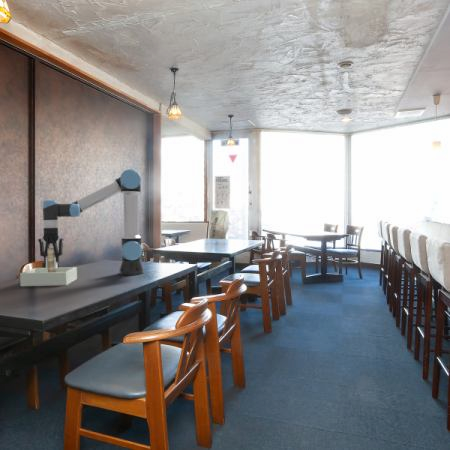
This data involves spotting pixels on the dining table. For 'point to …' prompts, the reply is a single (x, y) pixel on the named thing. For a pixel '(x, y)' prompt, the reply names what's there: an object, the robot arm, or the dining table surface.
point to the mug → (45, 265)
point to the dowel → (51, 260)
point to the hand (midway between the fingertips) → (51, 268)
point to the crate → (48, 277)
